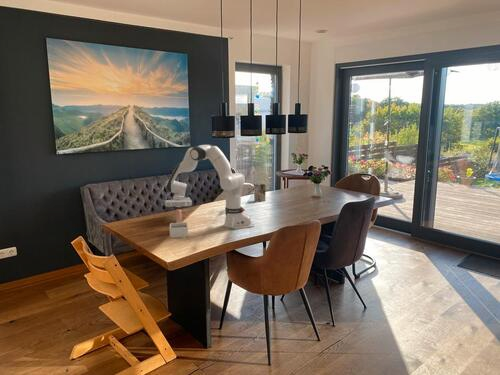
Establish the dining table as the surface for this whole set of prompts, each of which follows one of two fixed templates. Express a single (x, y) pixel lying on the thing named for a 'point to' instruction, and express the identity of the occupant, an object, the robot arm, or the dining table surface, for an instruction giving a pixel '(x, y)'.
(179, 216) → the peg
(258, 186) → the coffee box
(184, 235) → the open box
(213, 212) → the dining table surface
